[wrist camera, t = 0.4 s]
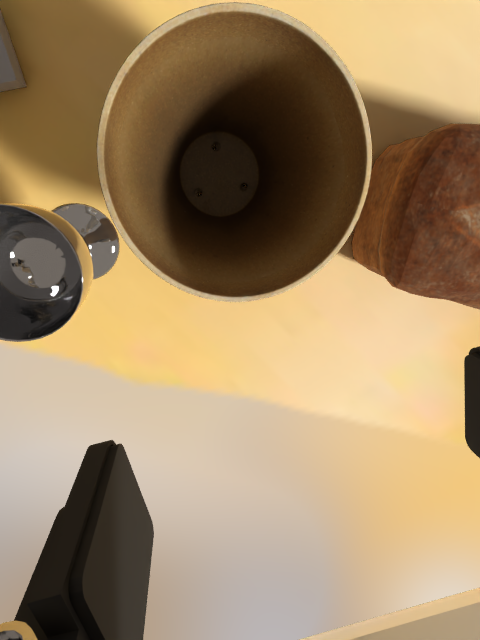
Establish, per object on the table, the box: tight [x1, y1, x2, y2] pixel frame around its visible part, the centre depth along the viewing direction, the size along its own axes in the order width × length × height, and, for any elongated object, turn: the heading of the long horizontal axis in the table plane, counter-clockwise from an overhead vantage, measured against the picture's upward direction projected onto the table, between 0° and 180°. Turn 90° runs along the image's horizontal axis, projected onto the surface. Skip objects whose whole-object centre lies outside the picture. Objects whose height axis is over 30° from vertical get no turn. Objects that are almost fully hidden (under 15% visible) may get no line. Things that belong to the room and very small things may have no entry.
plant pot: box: [97, 2, 372, 302], centre depth 28 cm, size 15×15×16 cm
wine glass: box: [0, 203, 119, 342], centre depth 29 cm, size 8×8×15 cm
